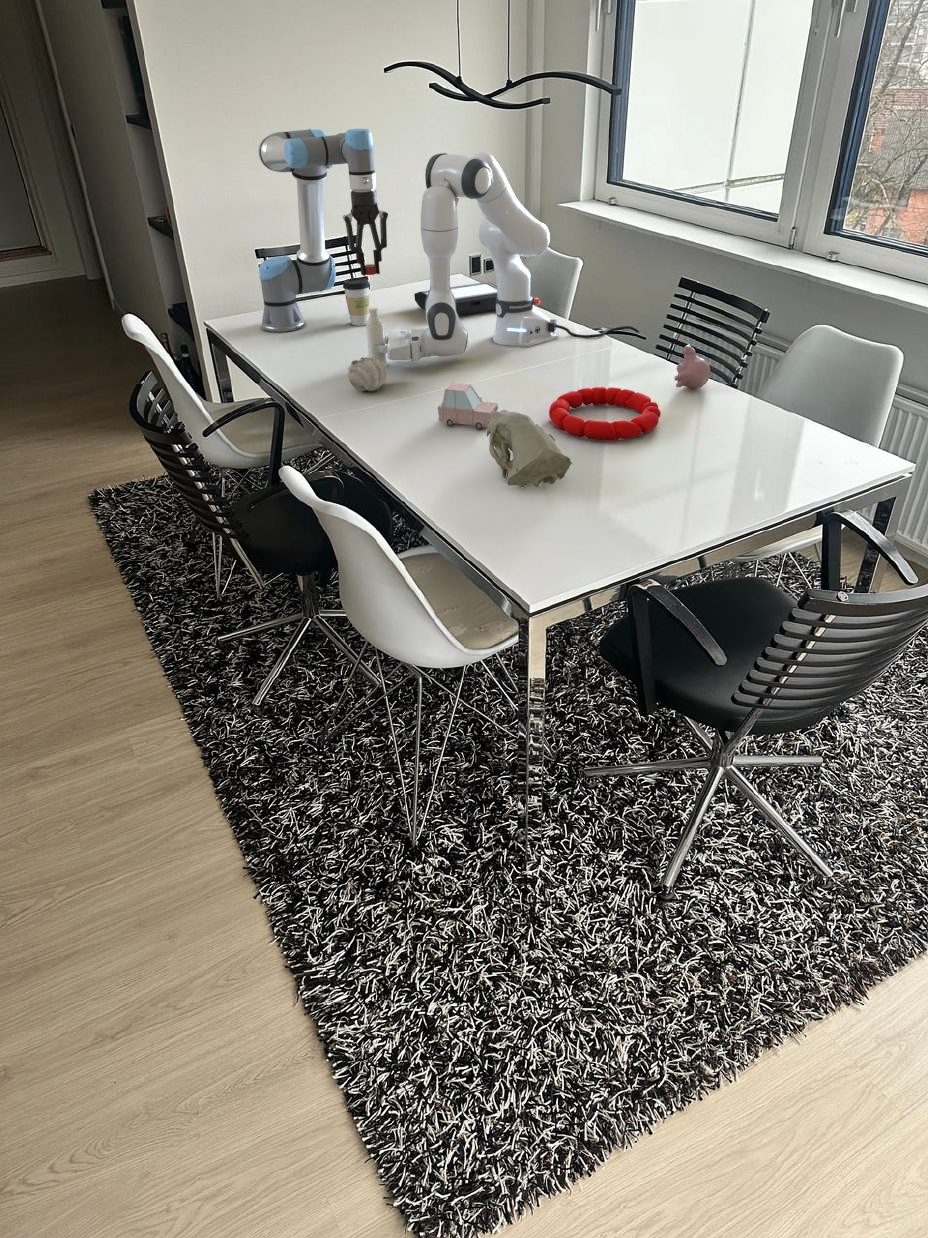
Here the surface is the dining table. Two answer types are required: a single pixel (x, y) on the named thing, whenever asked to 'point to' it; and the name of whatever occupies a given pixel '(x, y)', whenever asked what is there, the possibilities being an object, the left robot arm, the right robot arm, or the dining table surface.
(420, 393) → the dining table surface
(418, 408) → the dining table surface
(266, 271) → the left robot arm
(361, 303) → the coffee cup
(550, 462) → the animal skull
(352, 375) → the seashell
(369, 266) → the cap
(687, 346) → the figurine
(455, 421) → the toy car
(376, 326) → the bottle
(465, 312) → the electronic device
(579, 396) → the decorative ring
